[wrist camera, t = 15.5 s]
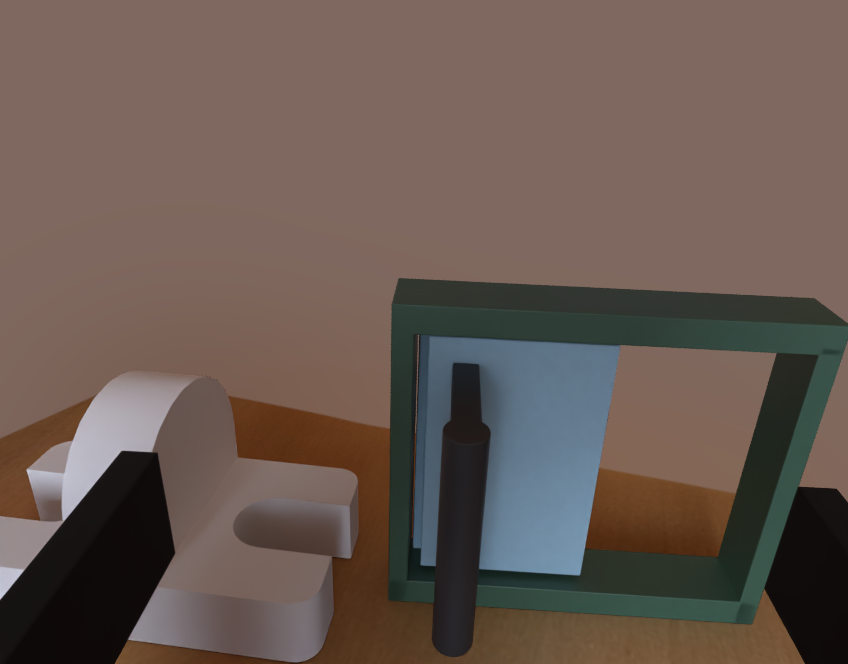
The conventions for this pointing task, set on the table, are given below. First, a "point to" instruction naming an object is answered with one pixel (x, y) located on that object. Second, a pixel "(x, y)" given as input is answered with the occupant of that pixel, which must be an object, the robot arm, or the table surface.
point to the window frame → (638, 326)
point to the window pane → (508, 464)
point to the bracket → (205, 520)
